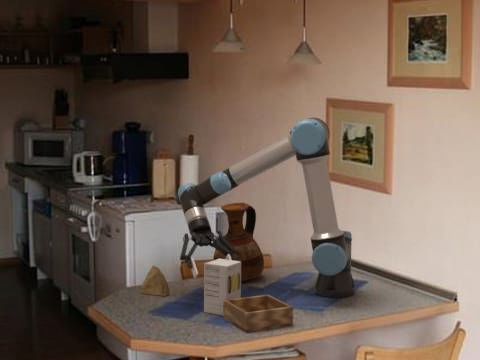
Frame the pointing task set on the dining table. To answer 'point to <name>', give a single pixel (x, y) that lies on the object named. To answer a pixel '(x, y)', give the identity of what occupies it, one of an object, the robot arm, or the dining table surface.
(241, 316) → the oak crate
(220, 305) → the supplement box
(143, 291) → the rock
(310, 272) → the dining table surface
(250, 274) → the ceramic pitcher
